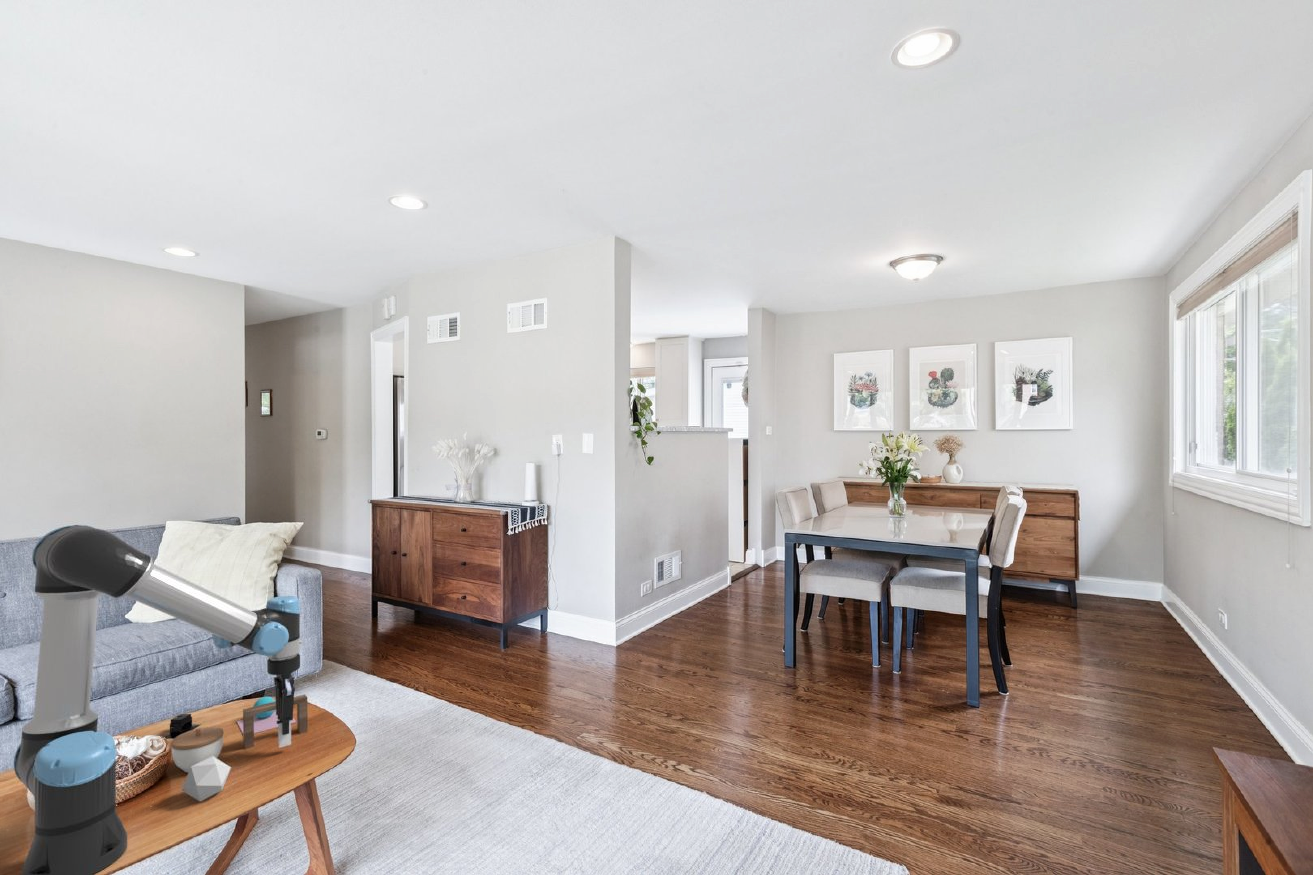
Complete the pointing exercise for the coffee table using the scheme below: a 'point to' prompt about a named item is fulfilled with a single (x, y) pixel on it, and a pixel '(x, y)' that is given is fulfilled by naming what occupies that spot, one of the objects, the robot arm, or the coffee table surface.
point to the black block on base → (180, 726)
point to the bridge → (250, 712)
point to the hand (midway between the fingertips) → (284, 744)
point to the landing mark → (264, 723)
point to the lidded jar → (196, 746)
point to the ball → (260, 702)
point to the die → (206, 778)
